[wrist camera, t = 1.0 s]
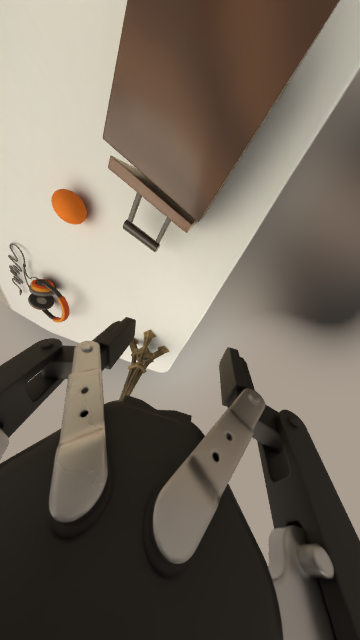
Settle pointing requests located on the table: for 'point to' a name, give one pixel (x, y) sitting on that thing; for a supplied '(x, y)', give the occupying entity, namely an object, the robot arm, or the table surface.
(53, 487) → the robot arm
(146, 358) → the eiffel tower
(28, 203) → the table surface
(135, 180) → the drawer
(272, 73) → the cabinet
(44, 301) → the headphones
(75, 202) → the ball
